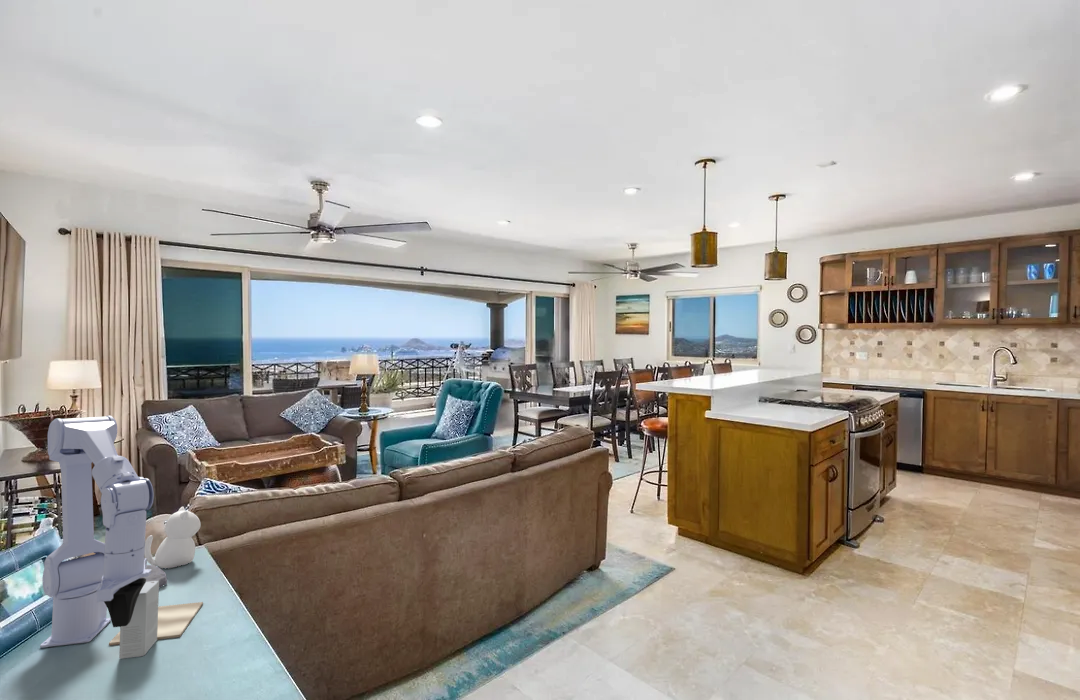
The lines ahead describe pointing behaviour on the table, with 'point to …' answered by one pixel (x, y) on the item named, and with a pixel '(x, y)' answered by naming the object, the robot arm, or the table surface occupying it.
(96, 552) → the robot arm
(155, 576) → the stone block
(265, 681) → the table surface
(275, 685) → the table surface
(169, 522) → the cat figurine
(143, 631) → the skincare box
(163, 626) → the birch board
